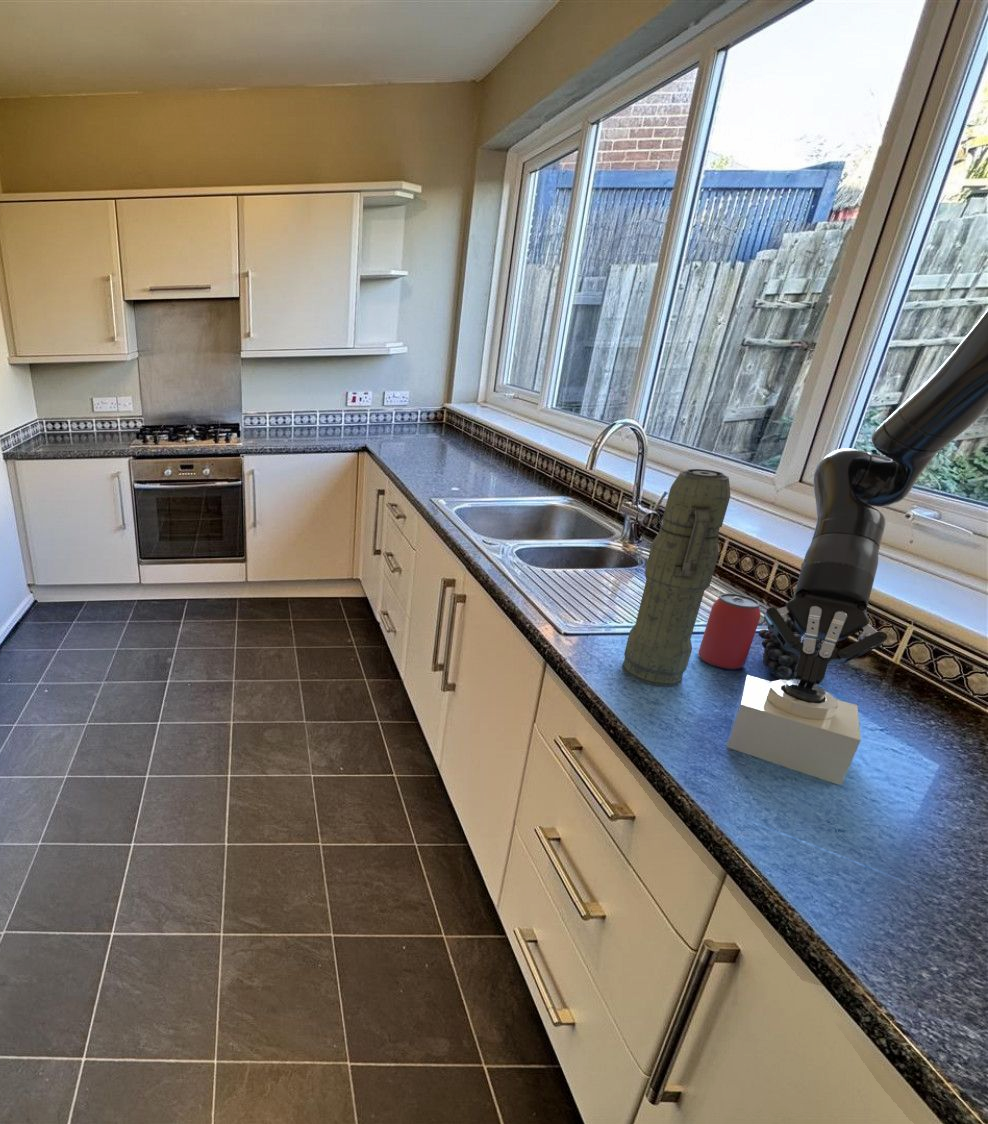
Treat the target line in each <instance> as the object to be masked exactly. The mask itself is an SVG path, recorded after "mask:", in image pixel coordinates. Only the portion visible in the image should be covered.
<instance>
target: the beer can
mask: <svg viewBox="0 0 988 1124" xmlns="http://www.w3.org/2000/svg"><path fill="white" fill-rule="evenodd" d="M760 606H761V603H760V602H759V601H758V600H757V599H755V598H754V597H751V596H747V595H743V594H739V593H731V592H729V593H727V592H726V593H721V594H720V595H718V598H717V599H716V600H715V602H714V603H713V604H712V606H711V608H710V612H709V615H708V619H707V621H706V626H705V629H704V632H703V635H702V639H701V642H700V646H699V648H698V656H699V658H700V660H702V661H704V662H705V663H706V664H708V665H710V666H713V667H716V668H719V669H724V670H739V669H741V668H743V667H744V666H745V665H746V662H747V659H748V655H749V652H750V649H751V646H752V644H753V640H754V637H755V635H756V632H757V629H758V626H759V623H760V619H761V610H760Z"/></svg>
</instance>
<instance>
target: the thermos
mask: <svg viewBox="0 0 988 1124" xmlns="http://www.w3.org/2000/svg"><path fill="white" fill-rule="evenodd" d="M730 499H731V486H730V477H729V475H728V476H727V475H725V474H724V473H723V472H720V471H717V470H711V469H703V468H690V469H686V470H684V471H680V473H679V474H678V475H677V477H676V478H675V480H674V481H673V483H672V484H671V486H670V488H669V492H668V496H667V499H666V504H665V507H664V512H663V516H662V520H663V523H662V525H660V528H659V531H658V533H657V535H656V536H655V537H654V539H653V540H652V542H651V545H650V549H649V554H648V557H647V562H646V566H645V570H644V577H645V584H644V588H643V592H642V596H641V600H640V603H639V608H638V612H637V615H636V620H635V623H634V625H633V626H632V628H630V630H629V633H628V637H627V641H626V645H625V649H624V653H623V655H624V660H623V662H622V665H621V669H622V670H623V672H624V673H625V674H626V675H627V676H628V677H630V678H632V679H634V680H636V681H638V682H641V683H643V684H645V685H646V684H647V685H651V686H653V687H662V688H672V687H677V686H678V685H681V683H682V681H683V675H684V672H685V671H686V670H687V668H688V664H689V662H690V658H691V654H692V650H693V646H692V635H693V632H694V628H695V625H696V622H697V618H698V615H699V611H700V608H701V605H702V602H703V597H704V594H705V591H706V590H707V589H708V588H709V587H710V586H711V583H712V580H713V577H714V573H715V569H716V566H717V562H718V559H719V555H720V552H719V551H720V550H719V537H720V533H719V531H720V528H722V527H723V524H724V520H725V517H726V514H727V509H728V507H729V503H730V502H729V501H730Z"/></svg>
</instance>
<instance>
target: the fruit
mask: <svg viewBox="0 0 988 1124" xmlns="http://www.w3.org/2000/svg"><path fill="white" fill-rule="evenodd" d="M786 624H787V625H788V627H789V628H790V629H791V631H792V632H793V634H794V635H795V637H796V638H797V640H798V641H799V642H801V636H802V633H801V632H799V631H798V630H797V628H796V627H795V625H794V623H793V622H792V620H791V619H790V617H788V620H787V621H786ZM795 632H796V633H795ZM758 636H759V637H760V638H761V639H763V640H762V641H761V646H762V648H763V652H762V663H763V665H764V666H765V667H767V668H768V670H769V671H772V672H773V676H774V677H775V678H776V679H778V678H779V679H778V680H791V679H794V678H795V676H794V672H795V669H796V665H797V662H798V656H797V655H796V654H795V653H793V652H791V651H786V650H785V649H784V648H783V646H782V645H781V643H780V642H779V640H778V639H777V637H776V636H775V634H774V633H773V631H772V630H771V628H770V627H769V625H768V624H767V629H765V628H763V629H760V630H759V632H758ZM820 644H821V642H820V638H817V639H816V645H815V651H814V653H813V656H815V657H816V655H817V652H818V650H819V646H820Z"/></svg>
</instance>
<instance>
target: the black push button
mask: <svg viewBox="0 0 988 1124" xmlns="http://www.w3.org/2000/svg"><path fill="white" fill-rule="evenodd" d="M783 691H784V692H785V693H786V694H787V695H789V696H791V697H793V698H795V699H798V700H801V701H805V702H808V703H822V701H823V698H824V696H825V689H824V688H822V687H821V686H819V685H818V684H815V685H814V686H813V687H810V686H806V685H803V684H799V679H796V678H793V679H791V680H788V681H787V682H786V684H785V687H784V690H783Z"/></svg>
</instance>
